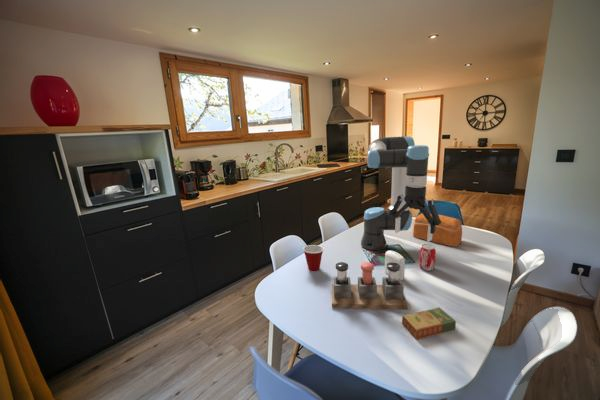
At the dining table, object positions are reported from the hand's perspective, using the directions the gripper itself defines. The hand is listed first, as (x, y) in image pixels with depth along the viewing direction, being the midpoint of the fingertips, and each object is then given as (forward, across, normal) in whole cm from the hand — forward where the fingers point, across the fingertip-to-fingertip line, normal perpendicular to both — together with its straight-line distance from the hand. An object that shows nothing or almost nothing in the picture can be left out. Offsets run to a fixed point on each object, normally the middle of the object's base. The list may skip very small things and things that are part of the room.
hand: (412, 236), depth 109 cm
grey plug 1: (+20, -18, -23) cm, 36 cm away
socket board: (+26, -11, -16) cm, 33 cm away
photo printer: (+26, -12, +8) cm, 30 cm away
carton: (+27, +15, -15) cm, 34 cm away
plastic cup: (+26, -45, -15) cm, 54 cm away
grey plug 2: (+20, -3, -9) cm, 22 cm away
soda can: (+26, -4, +25) cm, 37 cm away
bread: (+26, -15, +64) cm, 71 cm away
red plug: (+20, -11, -16) cm, 28 cm away
